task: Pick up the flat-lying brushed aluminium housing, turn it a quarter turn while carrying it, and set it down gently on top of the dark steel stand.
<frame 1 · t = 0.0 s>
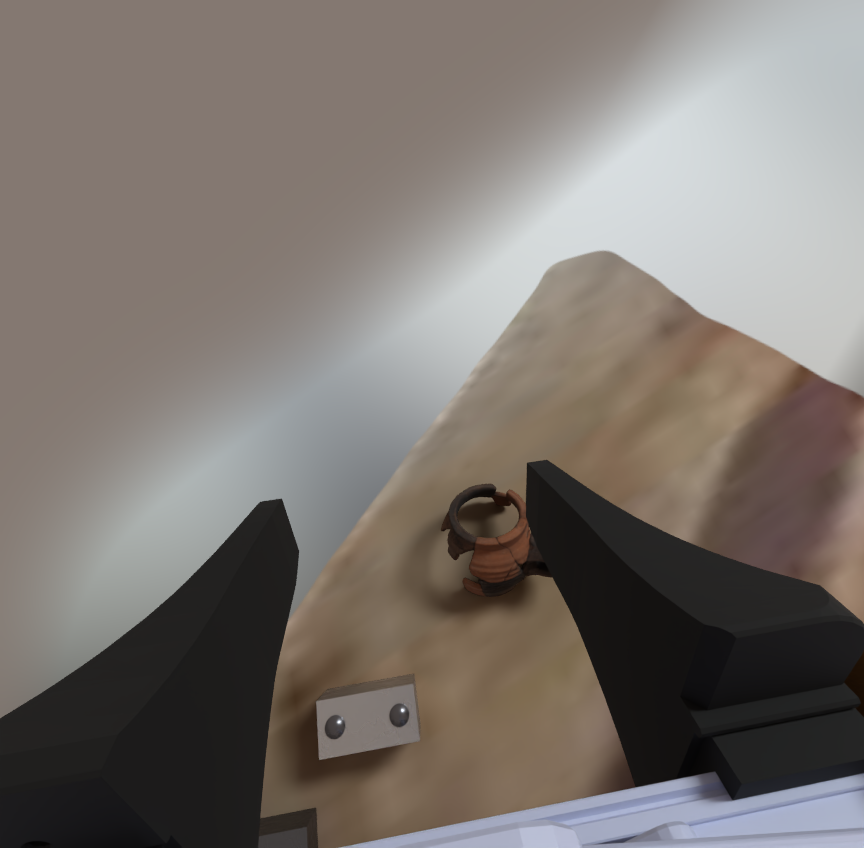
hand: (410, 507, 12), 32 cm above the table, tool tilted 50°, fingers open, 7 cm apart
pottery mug: (496, 547, 44), on the table
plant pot: (747, 702, 39), on the table
housing: (373, 705, 38), on the table
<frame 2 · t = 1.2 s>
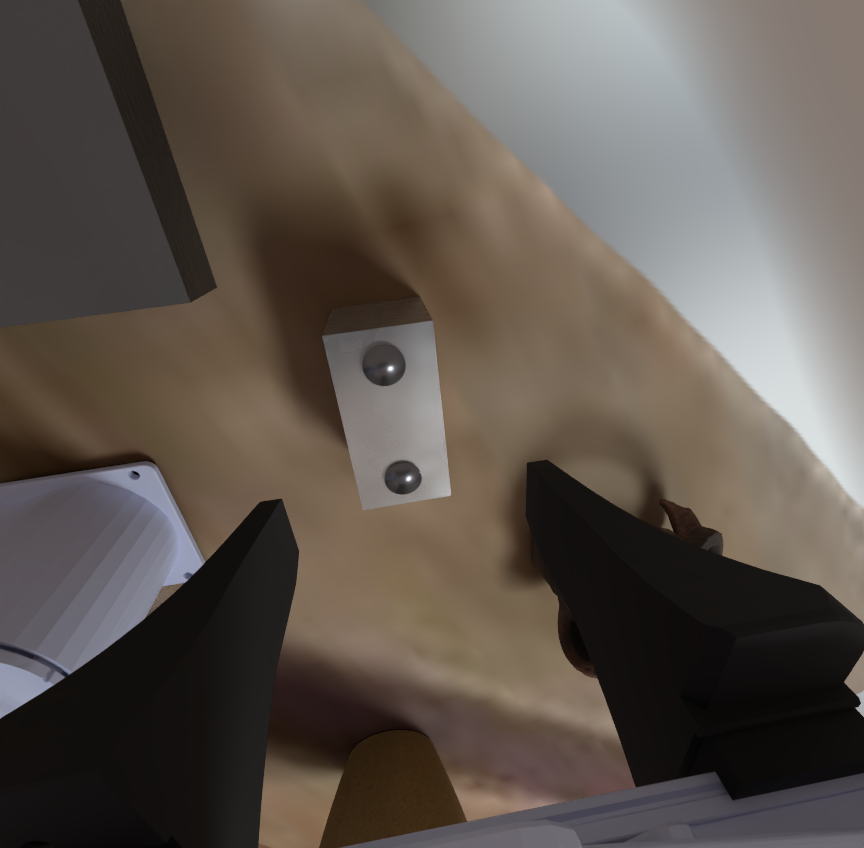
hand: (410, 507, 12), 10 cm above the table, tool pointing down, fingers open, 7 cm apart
stand: (2, 146, 15), on the table
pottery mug: (591, 542, 28), on the table
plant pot: (391, 748, 37), on the table
housing: (389, 383, 21), on the table
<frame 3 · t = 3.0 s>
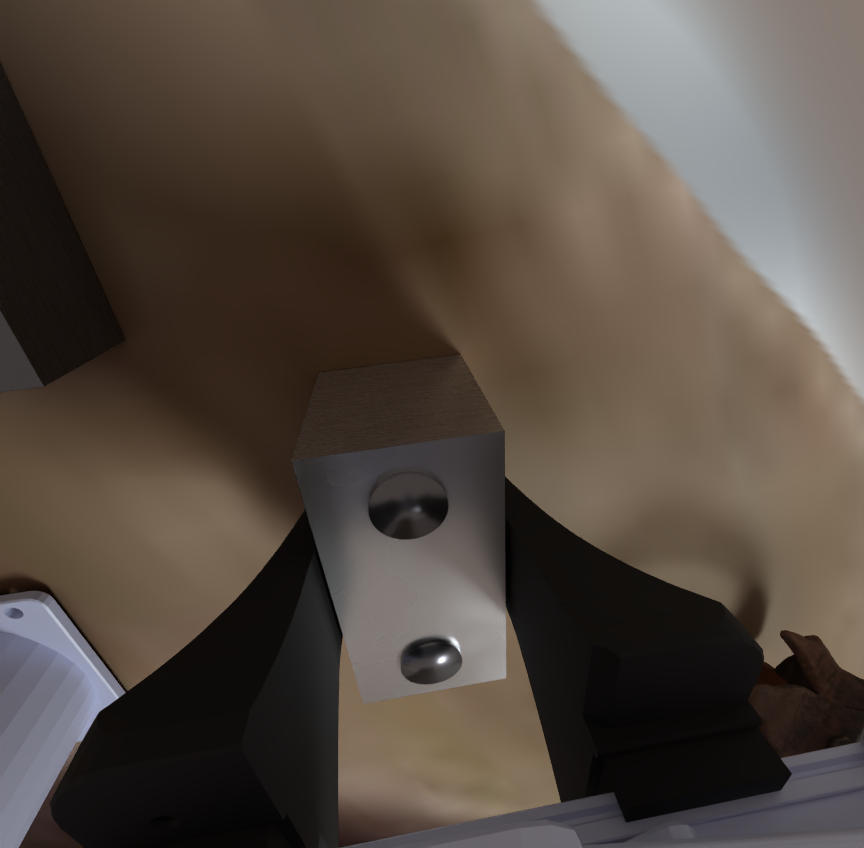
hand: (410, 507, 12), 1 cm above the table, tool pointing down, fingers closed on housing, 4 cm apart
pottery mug: (660, 657, 21), on the table
housing: (407, 479, 14), on the table, touching gripper
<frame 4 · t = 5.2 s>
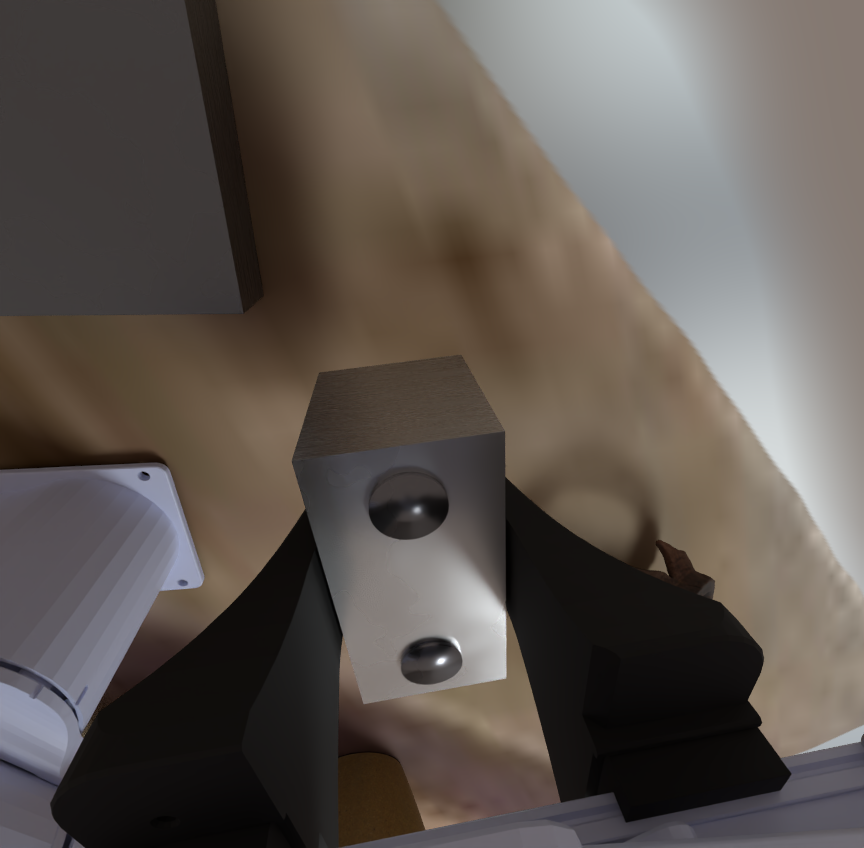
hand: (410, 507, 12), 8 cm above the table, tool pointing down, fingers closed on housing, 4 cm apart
stand: (61, 124, 14), on the table
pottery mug: (580, 575, 28), on the table
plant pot: (359, 770, 36), on the table
housing: (407, 479, 14), point 7 cm above the table, touching gripper
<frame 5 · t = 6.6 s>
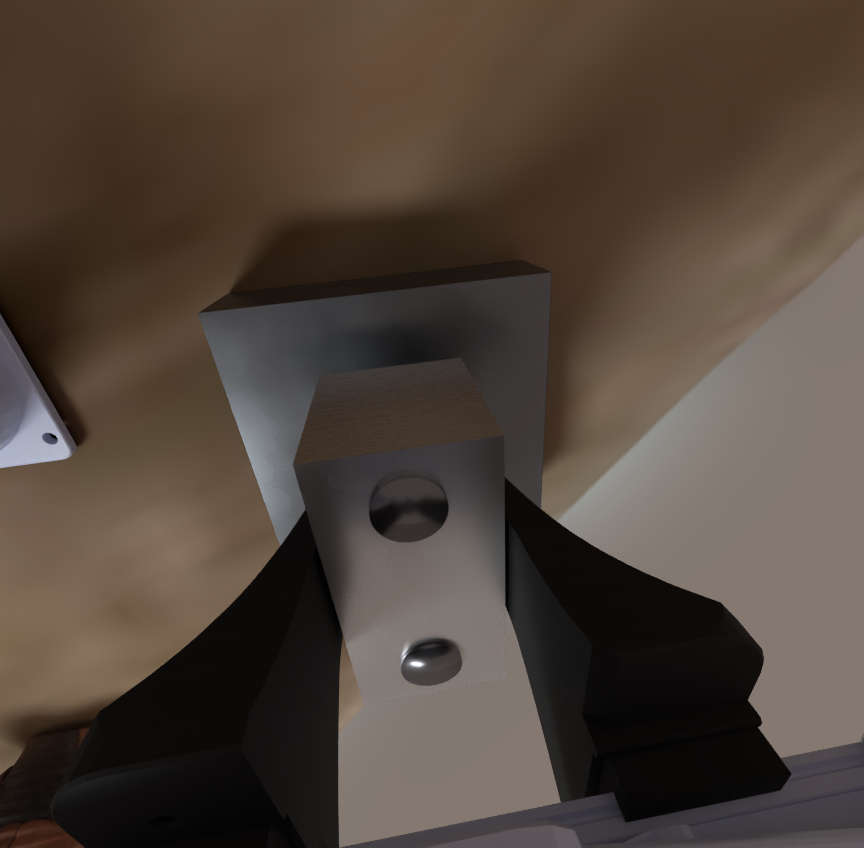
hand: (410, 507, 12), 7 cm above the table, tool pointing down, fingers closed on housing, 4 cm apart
stand: (397, 408, 18), on the table
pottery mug: (87, 756, 28), on the table
housing: (407, 481, 14), point 5 cm above the table, touching gripper
when the fingers open (6 cm above the table, at t = 7.5 s): housing drops 1 cm, resting on stand.
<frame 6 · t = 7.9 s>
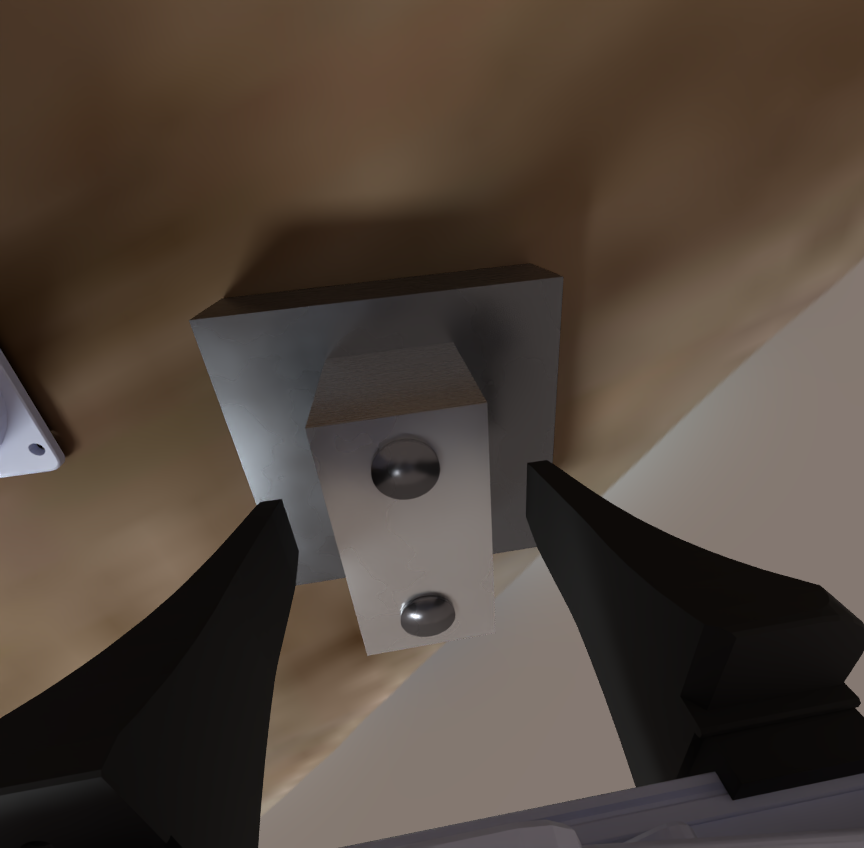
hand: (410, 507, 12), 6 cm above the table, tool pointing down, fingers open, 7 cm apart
stand: (399, 417, 18), on the table
housing: (405, 457, 15), point 3 cm above the table, touching stand
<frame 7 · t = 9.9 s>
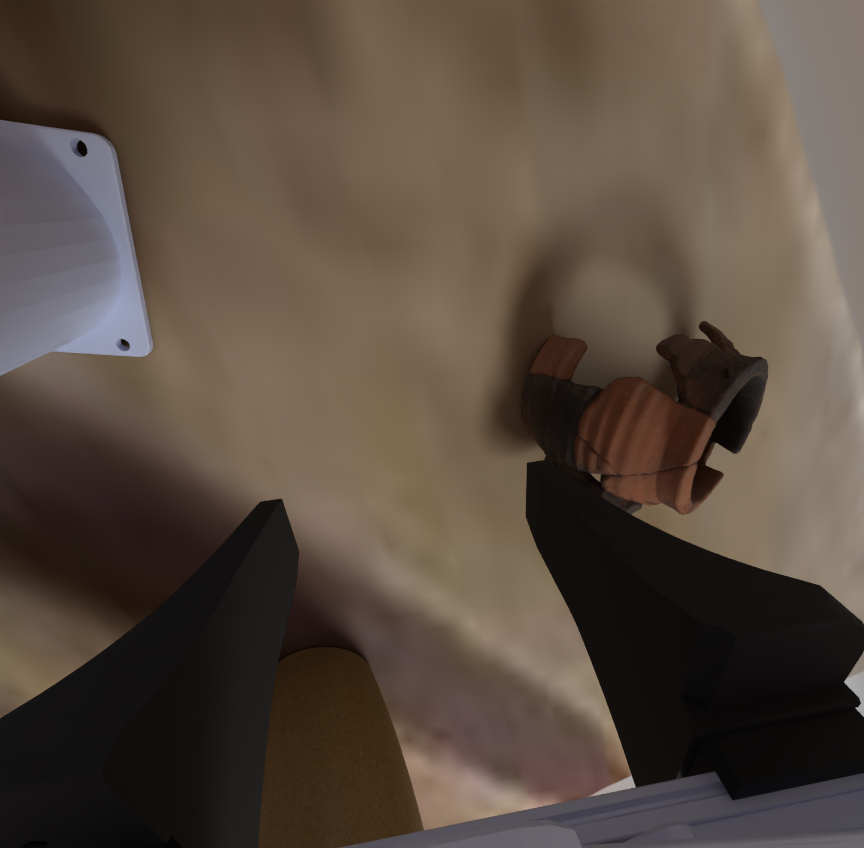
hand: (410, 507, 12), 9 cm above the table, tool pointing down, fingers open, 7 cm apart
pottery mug: (593, 406, 23), on the table
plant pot: (322, 673, 31), on the table
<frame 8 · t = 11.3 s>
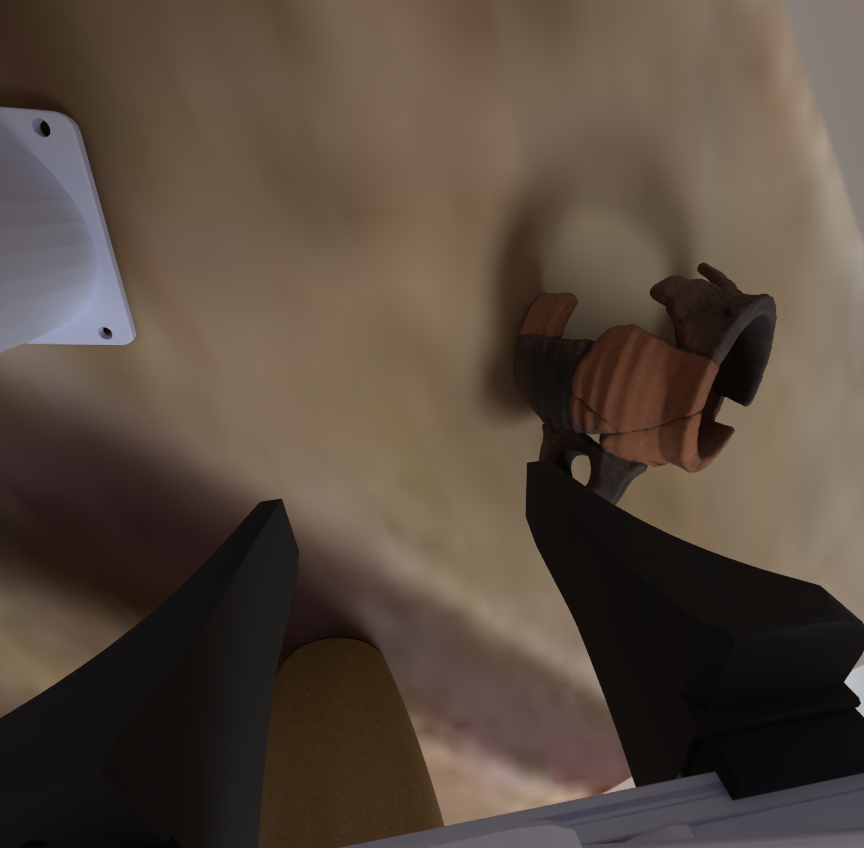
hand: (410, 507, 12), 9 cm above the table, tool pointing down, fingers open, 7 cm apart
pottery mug: (591, 368, 22), on the table
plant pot: (335, 665, 31), on the table
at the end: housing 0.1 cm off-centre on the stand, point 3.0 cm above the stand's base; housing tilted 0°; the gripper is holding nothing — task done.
